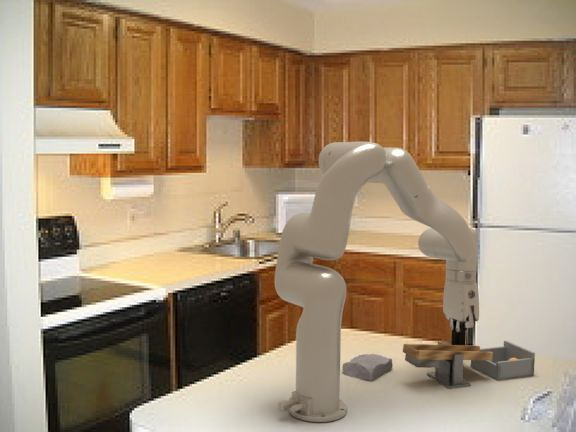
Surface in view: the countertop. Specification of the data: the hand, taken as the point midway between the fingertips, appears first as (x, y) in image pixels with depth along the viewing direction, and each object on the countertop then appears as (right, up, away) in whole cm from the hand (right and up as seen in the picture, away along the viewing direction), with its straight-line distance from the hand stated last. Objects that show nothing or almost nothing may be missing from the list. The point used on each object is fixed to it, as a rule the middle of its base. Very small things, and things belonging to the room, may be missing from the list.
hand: (458, 345), depth 163 cm
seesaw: (-6, -3, -5) cm, 9 cm away
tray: (+11, -7, -1) cm, 13 cm away
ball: (+14, -5, -2) cm, 15 cm away
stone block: (-24, -7, -2) cm, 25 cm away
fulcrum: (-5, -7, -8) cm, 12 cm away
